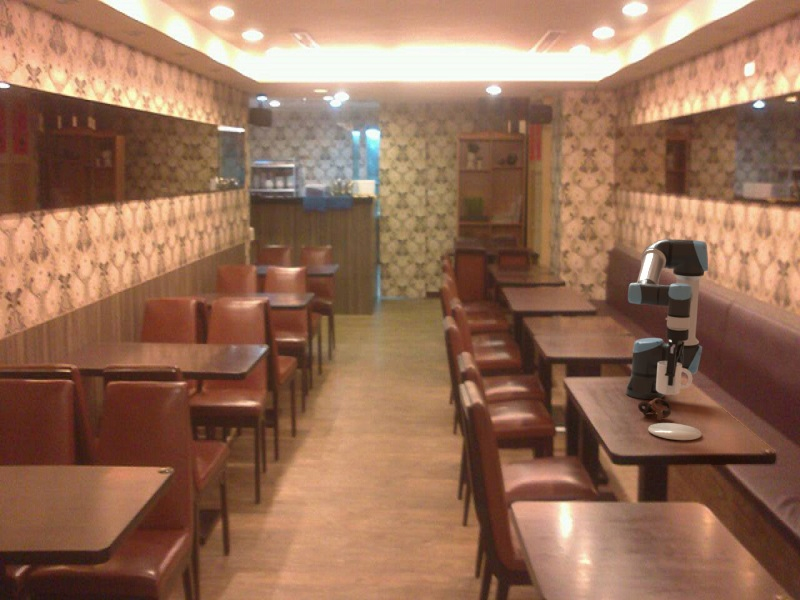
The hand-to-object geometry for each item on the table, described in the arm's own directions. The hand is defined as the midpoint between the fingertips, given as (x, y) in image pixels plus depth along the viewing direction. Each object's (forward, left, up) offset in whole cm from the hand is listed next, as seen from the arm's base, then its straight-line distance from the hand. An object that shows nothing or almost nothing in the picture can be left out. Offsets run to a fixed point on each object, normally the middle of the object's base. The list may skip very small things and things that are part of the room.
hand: (673, 391), depth 326 cm
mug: (0, 0, -1) cm, 1 cm away
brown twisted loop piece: (-17, -10, -16) cm, 25 cm away
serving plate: (0, +1, -15) cm, 15 cm away
